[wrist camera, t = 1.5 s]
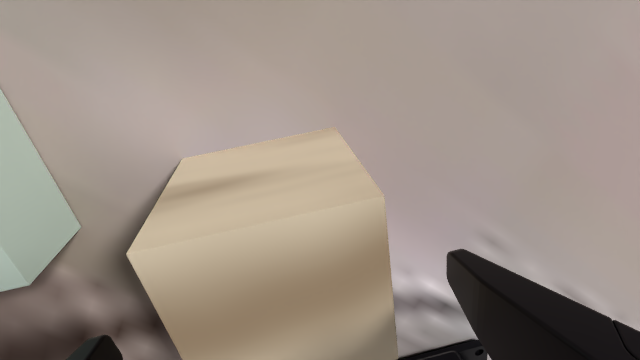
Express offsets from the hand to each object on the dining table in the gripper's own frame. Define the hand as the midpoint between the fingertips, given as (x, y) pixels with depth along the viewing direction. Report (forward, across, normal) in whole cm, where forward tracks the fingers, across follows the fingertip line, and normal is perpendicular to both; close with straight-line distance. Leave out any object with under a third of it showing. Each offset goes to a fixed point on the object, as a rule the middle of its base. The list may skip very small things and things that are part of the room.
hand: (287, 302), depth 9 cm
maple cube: (+5, 0, 0) cm, 5 cm away
